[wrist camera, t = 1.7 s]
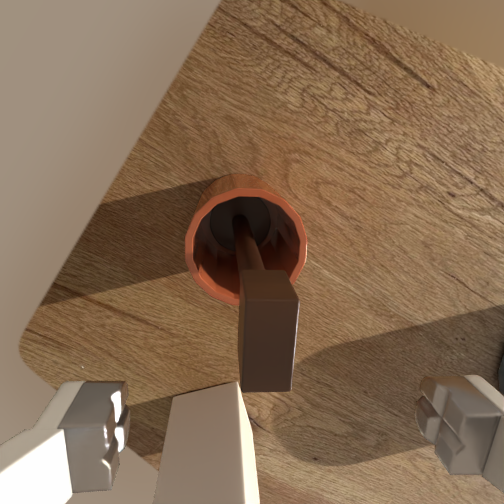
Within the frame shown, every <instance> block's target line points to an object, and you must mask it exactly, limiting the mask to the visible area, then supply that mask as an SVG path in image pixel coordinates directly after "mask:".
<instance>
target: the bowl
mask: <svg viewBox="0 0 504 504" xmlns="http://www.w3.org/2000/svg"><path fill="white" fill-rule="evenodd" d="M498 377H499V391H500V393H501V394H502V395H503V396H504V354H503V357H502V361H501V364H500V367H499V371H498Z"/></svg>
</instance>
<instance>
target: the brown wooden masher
mask: <svg viewBox="0 0 504 504" xmlns="http://www.w3.org/2000/svg"><path fill="white" fill-rule="evenodd" d="M270 224H271V219H270V214H269V211H268V208H267V207H266V205H265V204H264V202H263V201H262V200H261V199H260V198H259V197H242V196H238V197H235V198H232V199H230V200H227V201H224V202H222V203H219V204H217V205H216V206H215V207H214V208H213V209H212V210H211V215H210V229H211V232H212V234H213V236H214V238H215V239H216V241H217V242H218V243H219V244H220V245H221V246H223V247H224V248H226V249H229V250H232V251H236V256H237V264H238V271H239V279H240V298H239V323H238V360H239V373H240V386H241V391H242V392H243V393H245V392H290V391H291V388H292V378H293V368H294V357H295V347H296V337H297V327H298V317H299V306H300V300H299V298H298V296H297V294H296V292H295V290H294V288H293V286H292V284H291V282H290V280H289V277H288V275H287V273H286V271H284V270H265V268H264V265H263V262H262V259H261V256H260V254H259V251H258V248H257V246H258V245H260V244H261V243H262V242H263V241H264V239H265V238H266V236H267V235H268V232H269V229H270Z"/></svg>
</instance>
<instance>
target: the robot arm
mask: <svg viewBox="0 0 504 504" xmlns="http://www.w3.org/2000/svg"><path fill="white" fill-rule="evenodd" d="M420 391H421V392H422V394H423V396H422V397H421V398H420V399H419V400H418V401H417V402H416V407H415V418H416V423H417V426H418V428H419V431H420V432H421V434H422V435H423V437H424V438H425V439H426V440H428V441H429V442H431V443H432V444H434V445H435V452H434V453H435V454H436V455H437V457H438V458H439V460H440V461H441V463H442V464H443V465H444V467H445V468H446V470H447V471H448V473H449V474H450V475H482V477H484V478H485V479H486V480H488V481H489V482H490V483H491V484H493V485H494V486H495V487H497V488H498V489H499V490H501V491H502V492H503V493H504V396H503V395H502V394H501V393H499V392H498V391H497V390H496V389H495V388H494V387H493V386H492V385H490V384H489V383H488V382H487V381H486V380H485V379H484V378H482V377H480V376H478V375H459V376H430V377H424V378H423V380H422V381H421V384H420ZM128 395H129V393H128V384H127V382H126V381H66V382H64V383H62V384H61V386H60V387H59V389H58V390H57V392H56V394H55V395H54V396H53V398H52V399H51V401H50V402H49V404H48V405H47V407H46V408H45V410H44V411H43V413H42V414H41V416H40V417H39V419H38V420H37V422H36V423H35V425H34V426H33V428H32V429H31V430H24V431H22V432H20V433H19V434H17V435H16V436H14V437H12V438H11V439H9V440H8V441H6V442H4V443H3V444H1V445H0V504H65V503H66V502H67V501H68V500H69V499H70V498H71V496H72V495H73V494H72V493H79V492H91V491H92V492H93V491H106V490H111V489H112V486H113V483H114V480H115V477H116V474H117V471H118V468H119V465H120V463H119V453H120V452H121V451H122V450H123V449H125V446H126V442H127V439H128V433H129V428H130V409H129V407H128V406H127V405H126V404H125V403H126V400H127V398H128Z"/></svg>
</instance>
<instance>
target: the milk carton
mask: <svg viewBox="0 0 504 504" xmlns="http://www.w3.org/2000/svg"><path fill="white" fill-rule="evenodd" d="M153 504H260V501H259V491H258V482H257V472H256V463H255V453H254V443H253V434H252V429H251V426H250V422H249V419H248V415H247V412H246V409H245V405H244V402H243V398H242V395H241V391H240V388H239V384H238V382H232V383H227V384H223V385H219V386H215V387H211V388H207V389H203V390H199V391H195V392H191V393H187V394H183V395H179V396H175V397H174V398H173V400H172V405H171V411H170V416H169V421H168V426H167V432H166V437H165V442H164V447H163V453H162V458H161V463H160V468H159V474H158V479H157V485H156V490H155V495H154V500H153Z"/></svg>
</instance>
